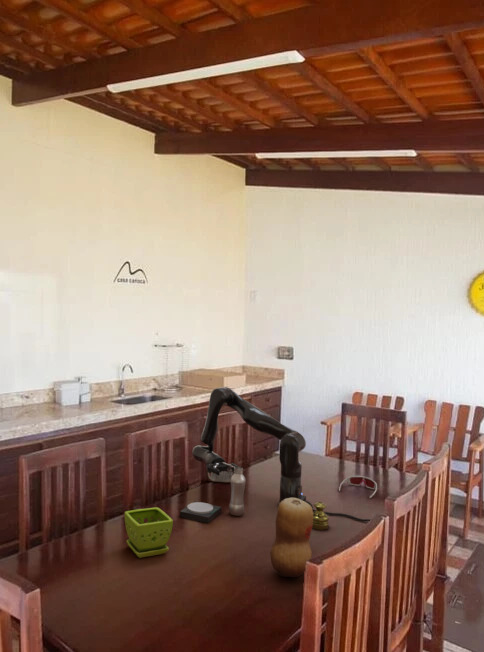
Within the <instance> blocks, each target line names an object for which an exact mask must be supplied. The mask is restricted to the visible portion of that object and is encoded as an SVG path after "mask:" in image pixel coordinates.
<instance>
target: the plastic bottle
mask: <svg viewBox="0 0 484 652" xmlns="http://www.w3.org/2000/svg"><path fill="white" fill-rule="evenodd" d="M246 482H247V480H246V477H245V476H244V468H243V467H241V466H238V467H235V468H234V475H233V476H232V477H231V483H230V499H229V505H228V512H229V514H230V515H232V516H236V517H238V516H239V517H241V516H242V515H244V513H245V496H244V495H245V488H246Z"/></svg>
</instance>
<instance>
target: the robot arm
mask: <svg viewBox="0 0 484 652" xmlns="http://www.w3.org/2000/svg"><path fill="white" fill-rule="evenodd" d="M224 406H227V407H229V408H231V409H232V410H234V411H235V412H237V414H238V415H239V416H240V417H241V419H242V421H243V422H245V424H247V425H248V426H249V427H251V428H252V429H254V430H256V432H257V431H258V432H260V433H261V434H265V435H268V436H271V437H273V438H275V439H278V440H279V464H280V477H279V479H280V480H279V500H278V502H279V503H278V505H279V504H280V503H281V501H283V500H284V499H286V498H296V492H298V499H300V500H302V501H305V502H306V503H308V504H309V505H310V506H311V507H312V510H313V513H314V512H315V511H316V509H314V505H313V504H312V503H311V502H309V501H308V500H307V496H306V495H303V485H302V471H303V470H302V469H303V466H302V465H303V464H302V462H301V461H300V460H299V456H300V455H299V453H300V452H302V451H303V450H304V449H305V448H306V445H307V442H306V439H305V436H304V435H302V434H301V433H300V432H299V431H297V430H294V429H292V428H290V427H288V426H287V425H285V424H283V423H282V422H280V421H279V420H277V419H276V418H275V417H272V416H271V415H270V414H268V413H266V411H264V410H262V409H260V408H259V407H257V406H256V405H254V404H252V403H251V402H249V401H248V400H246V399H244V398H243V397H242V396H241V395H239V394H238V393H237V392H236V391H234V390H233V389H232V388H230V387H228V386H221V387H216V388H214V389H213V390H212V391H211V393H210V394H209V401H208V408H207V414H206V419H205V422H204V423H205V424H204V426H203V430H202V433H201V435H200V442H202V444H205V445H199V444H198V445H196V446H194V447H193V449H192V456H193V458H194V459H195V460H196V461H197V462H200V463H203V464H205V471H206V472H207V471H208V472H209V473H211V472H213V473H214V474H216V475H220V472H222V471H223V472H224V471H226V472H233V473H234V468H235V467H239V465H237V464H236V463H234V462H231V463H228V462H227V463H226V460H225V459H224V458H223V457H221V456H220V455H219V454H218V453H216V452H215V451H214V450H215V442H216V437H217V435H218V431H219V414H220V412H221V409H222V408H223V407H224ZM227 469H228V470H227ZM231 469H232V470H231ZM323 512H324V513H325V514H326V515H328V516H329V515H330V516H343V517H347V518H350V519H354V520H356V521H359V522H369V521H370V520H372V519H370V518H359V517H356V516H353V515H350V514H347V513H340V512H331V511H330V512H328V511H323Z"/></svg>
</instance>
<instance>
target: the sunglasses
mask: <svg viewBox="0 0 484 652" xmlns="http://www.w3.org/2000/svg"><path fill="white" fill-rule="evenodd" d="M344 483H347V484H349V485H350V486H356V487H360V486H361V485H362V483H363V484H364V486H365V487H366V488H367V489H369V490H370V489H371V490H374V491H373V493H372V494H370V496H369V499H371V498H373V496H375V494H376V493H377V491H378V484H377V482H376V481H375V480H374V479H373V478H370V477H368V476H364V475H351V476H347V477H345V479H343V480H342V481H341V482H340V484H339V488H338V490H339V491H338V492H341V488H342V485H343V484H344Z"/></svg>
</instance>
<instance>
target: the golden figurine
mask: <svg viewBox="0 0 484 652" xmlns="http://www.w3.org/2000/svg"><path fill="white" fill-rule="evenodd" d="M313 508H315V512H313V526H312V529H314V530H317V531H323V530H324V531H325V530H327V529H328V528H329V519H330V518H329V517H330V516H329V515H328V514H325V513H324V512H325V511H324V510H325V509H326V508H327V504H325V503H324V502H322V501H318V502H315V503H313Z"/></svg>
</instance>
